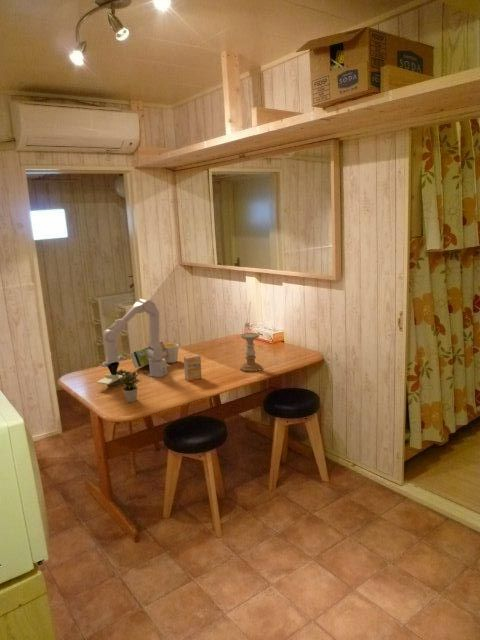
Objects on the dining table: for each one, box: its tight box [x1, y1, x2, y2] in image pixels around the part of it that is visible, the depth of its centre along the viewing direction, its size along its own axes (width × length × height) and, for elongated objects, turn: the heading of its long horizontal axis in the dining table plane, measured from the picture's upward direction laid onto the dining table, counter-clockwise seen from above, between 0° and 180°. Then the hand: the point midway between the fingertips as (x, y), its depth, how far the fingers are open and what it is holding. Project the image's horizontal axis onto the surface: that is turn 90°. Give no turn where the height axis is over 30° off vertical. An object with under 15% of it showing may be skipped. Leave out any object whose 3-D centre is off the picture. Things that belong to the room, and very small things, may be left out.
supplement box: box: [183, 353, 203, 382], centre depth 260 cm, size 8×5×13 cm, turn 118°
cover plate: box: [96, 373, 123, 386], centre depth 254 cm, size 13×8×2 cm, turn 154°
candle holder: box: [240, 332, 263, 372], centre depth 272 cm, size 12×12×20 cm
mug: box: [163, 342, 180, 364], centre depth 293 cm, size 14×10×10 cm
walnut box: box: [109, 368, 137, 387], centre depth 262 cm, size 13×10×4 cm
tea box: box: [129, 341, 168, 369], centre depth 283 cm, size 15×10×15 cm
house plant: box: [115, 369, 143, 403], centre depth 234 cm, size 14×14×16 cm
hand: (113, 375), depth 257 cm, fingers closed
